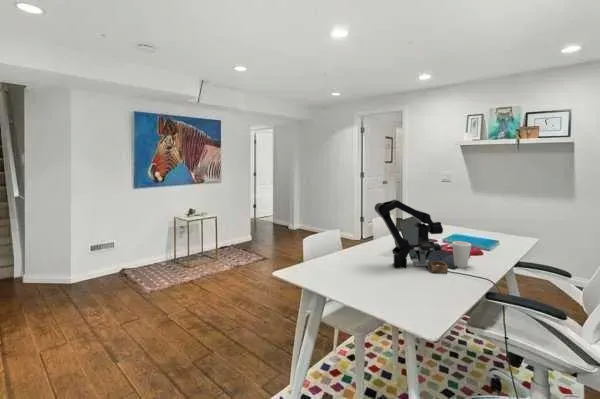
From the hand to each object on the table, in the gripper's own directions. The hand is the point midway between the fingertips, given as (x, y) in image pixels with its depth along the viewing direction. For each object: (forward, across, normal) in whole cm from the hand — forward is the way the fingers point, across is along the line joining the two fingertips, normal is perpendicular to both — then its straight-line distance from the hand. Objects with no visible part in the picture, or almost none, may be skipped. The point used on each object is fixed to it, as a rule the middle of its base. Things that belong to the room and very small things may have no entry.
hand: (422, 261), depth 191 cm
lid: (+1, 0, 0) cm, 1 cm away
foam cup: (+2, +21, 0) cm, 21 cm away
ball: (0, +6, -9) cm, 11 cm away
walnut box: (+2, +6, -9) cm, 11 cm away
